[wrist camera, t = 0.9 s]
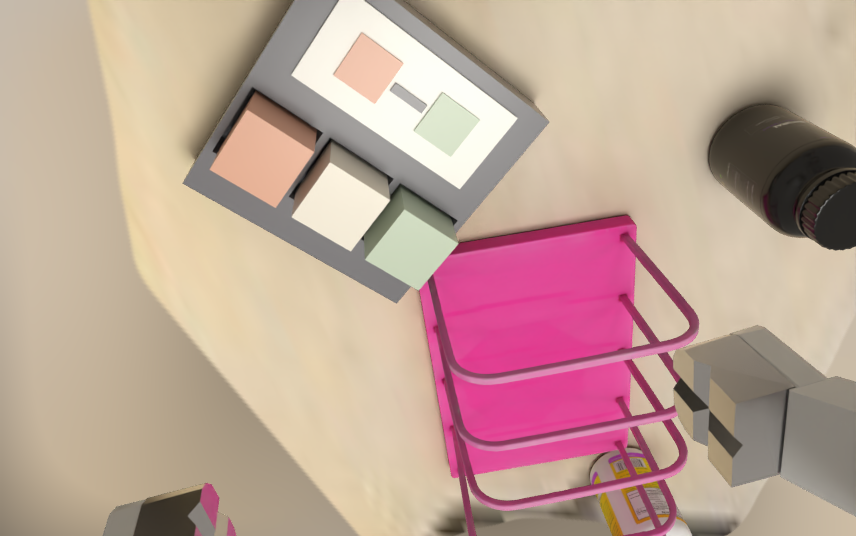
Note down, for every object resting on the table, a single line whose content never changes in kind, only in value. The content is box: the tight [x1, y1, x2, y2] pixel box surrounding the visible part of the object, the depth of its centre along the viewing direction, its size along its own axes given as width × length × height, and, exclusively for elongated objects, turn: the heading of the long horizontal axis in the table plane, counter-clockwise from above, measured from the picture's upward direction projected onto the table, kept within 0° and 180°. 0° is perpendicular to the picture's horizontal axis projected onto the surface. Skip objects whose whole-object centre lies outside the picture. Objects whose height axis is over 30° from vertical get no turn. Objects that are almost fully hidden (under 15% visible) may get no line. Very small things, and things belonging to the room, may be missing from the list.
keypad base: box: [183, 0, 549, 303], centre depth 43 cm, size 17×17×4 cm
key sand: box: [291, 140, 390, 251], centre depth 42 cm, size 4×4×4 cm
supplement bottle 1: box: [590, 448, 692, 536], centre depth 61 cm, size 7×7×13 cm
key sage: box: [364, 184, 459, 291], centre depth 44 cm, size 4×4×4 cm
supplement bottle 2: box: [709, 105, 856, 250], centre depth 44 cm, size 7×7×12 cm
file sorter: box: [419, 215, 699, 536], centre depth 50 cm, size 17×25×16 cm
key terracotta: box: [210, 90, 317, 208], centre depth 39 cm, size 4×4×4 cm
